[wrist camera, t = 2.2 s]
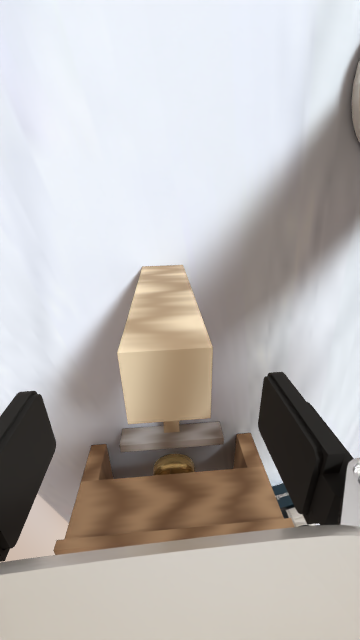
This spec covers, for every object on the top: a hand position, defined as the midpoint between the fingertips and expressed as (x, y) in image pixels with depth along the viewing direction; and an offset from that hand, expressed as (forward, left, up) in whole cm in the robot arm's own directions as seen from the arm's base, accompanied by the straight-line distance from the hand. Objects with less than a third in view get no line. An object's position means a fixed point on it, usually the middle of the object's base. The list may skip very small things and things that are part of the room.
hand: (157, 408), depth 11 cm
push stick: (0, +9, -17) cm, 19 cm away
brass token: (0, +28, -17) cm, 33 cm away
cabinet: (0, +27, -17) cm, 32 cm away
